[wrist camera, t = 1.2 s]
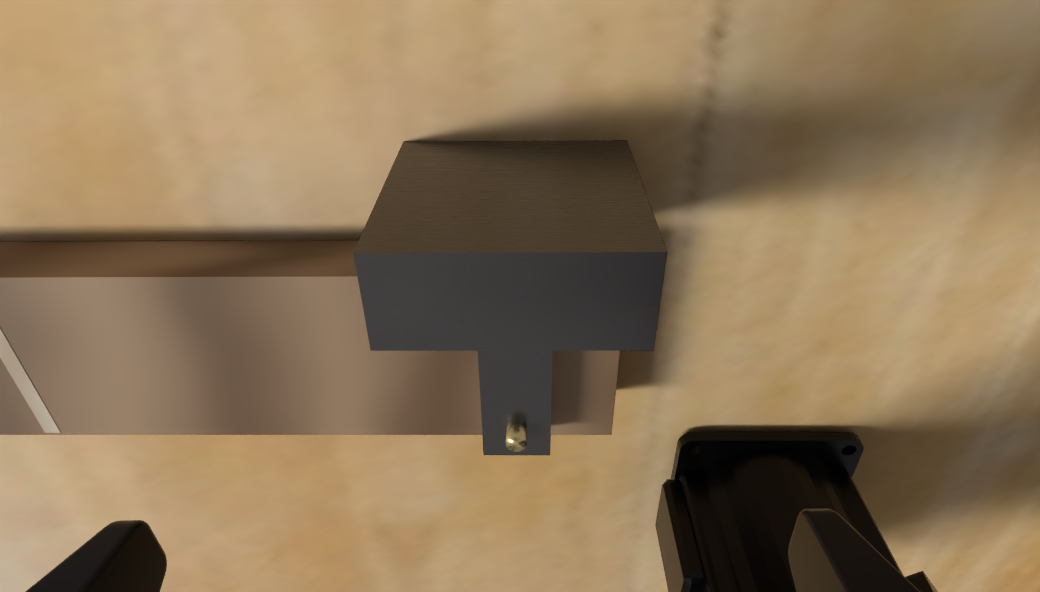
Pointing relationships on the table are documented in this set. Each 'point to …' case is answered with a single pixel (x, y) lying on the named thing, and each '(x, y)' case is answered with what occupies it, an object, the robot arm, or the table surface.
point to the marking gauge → (512, 266)
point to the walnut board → (234, 348)
